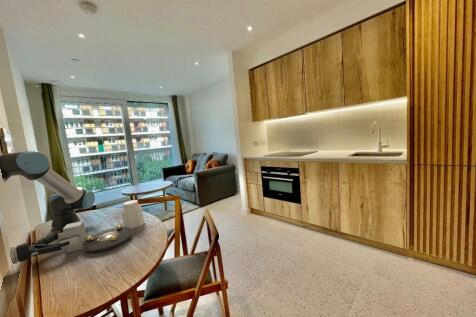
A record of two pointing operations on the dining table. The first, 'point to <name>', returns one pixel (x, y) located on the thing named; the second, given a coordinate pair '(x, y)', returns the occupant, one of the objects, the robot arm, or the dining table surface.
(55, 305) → the dining table surface
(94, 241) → the base
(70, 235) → the supplement box
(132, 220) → the jar
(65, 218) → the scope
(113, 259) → the dining table surface
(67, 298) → the dining table surface
